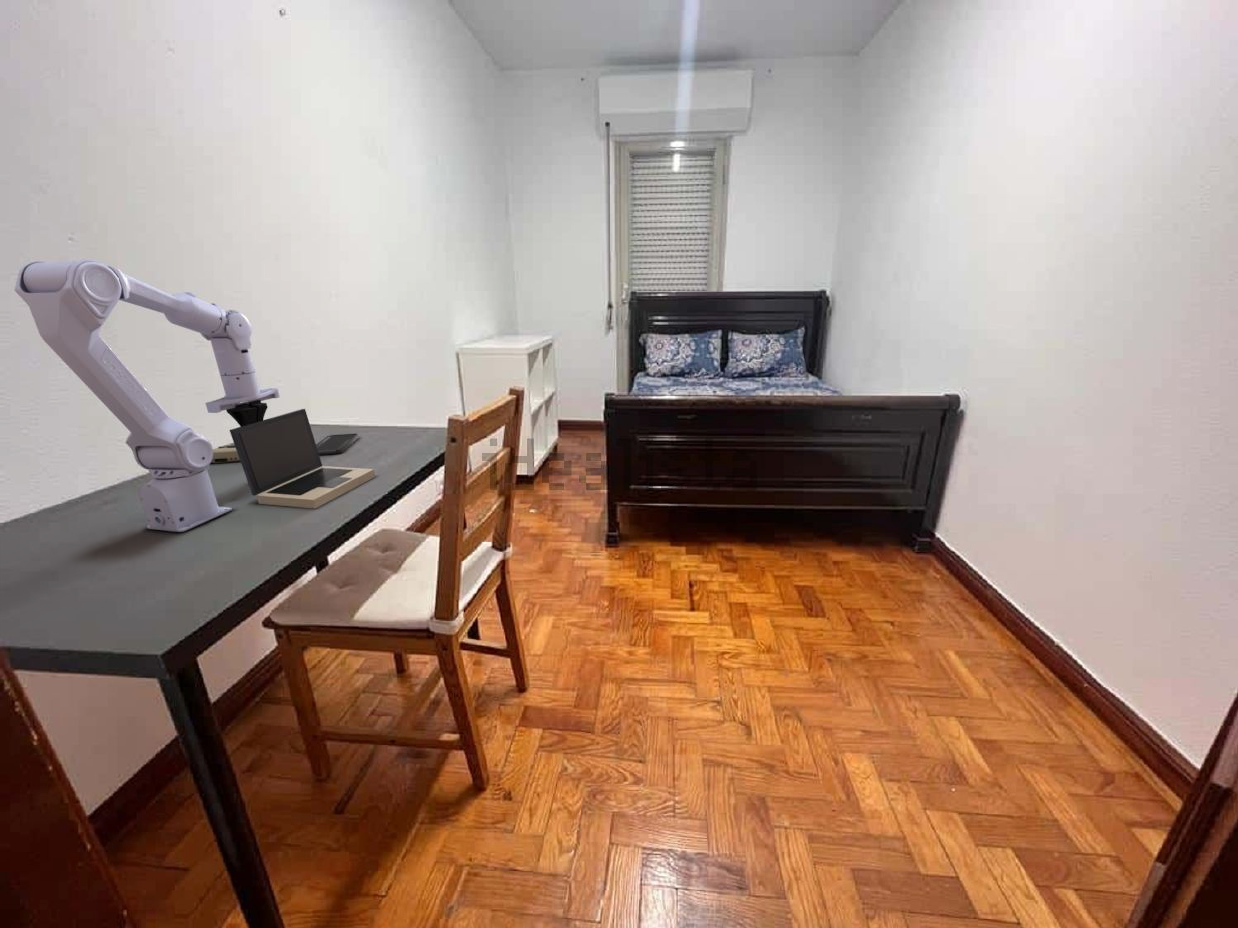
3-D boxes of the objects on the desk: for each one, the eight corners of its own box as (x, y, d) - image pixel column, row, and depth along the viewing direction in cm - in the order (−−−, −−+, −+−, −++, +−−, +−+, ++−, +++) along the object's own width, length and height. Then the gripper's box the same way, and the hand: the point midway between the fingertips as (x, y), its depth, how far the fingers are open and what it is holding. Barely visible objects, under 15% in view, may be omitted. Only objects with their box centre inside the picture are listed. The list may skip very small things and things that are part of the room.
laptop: (375, 476, 112) (373, 468, 111) (315, 508, 96) (313, 499, 96) (324, 473, 115) (322, 465, 114) (258, 503, 99) (256, 494, 99)
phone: (306, 451, 127) (328, 435, 141) (307, 456, 127) (329, 439, 141) (340, 449, 128) (359, 433, 142) (341, 453, 128) (360, 437, 142)
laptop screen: (305, 408, 110) (302, 408, 110) (232, 429, 95) (229, 430, 95) (322, 465, 114) (319, 466, 114) (256, 495, 99) (252, 495, 99)
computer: (292, 449, 133) (289, 437, 132) (278, 459, 125) (275, 446, 124) (226, 454, 131) (222, 441, 129) (207, 464, 123) (203, 451, 122)
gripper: (253, 367, 110) (269, 429, 114) (185, 379, 96) (206, 448, 101) (280, 367, 108) (295, 430, 112) (215, 379, 95) (235, 450, 99)
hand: (255, 439), depth 106 cm, fingers closed
